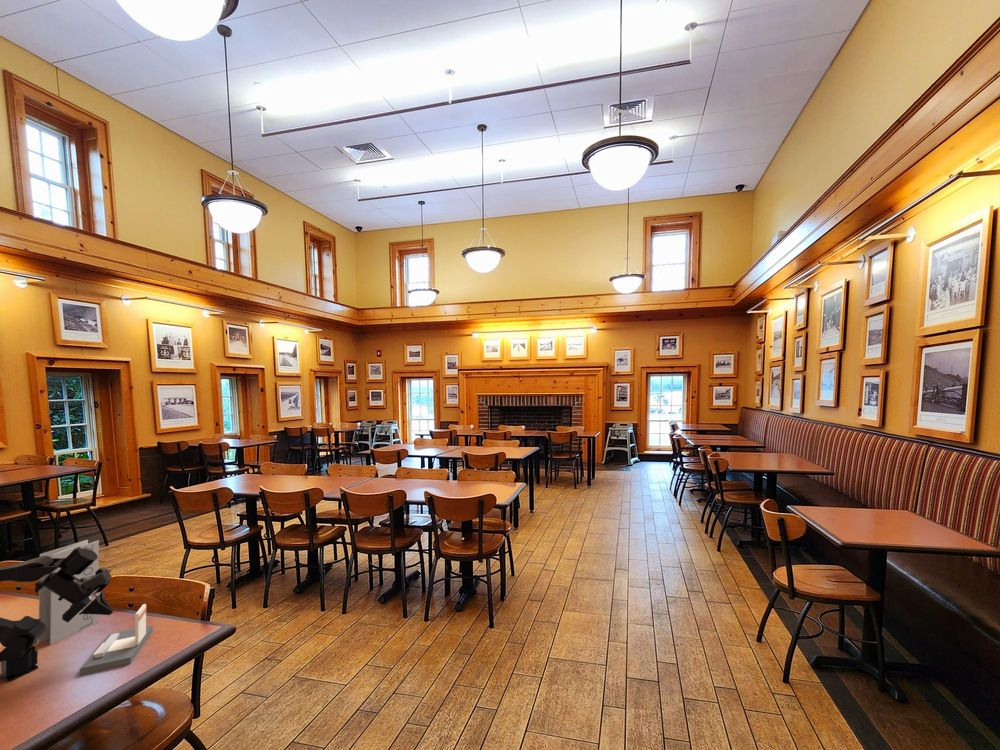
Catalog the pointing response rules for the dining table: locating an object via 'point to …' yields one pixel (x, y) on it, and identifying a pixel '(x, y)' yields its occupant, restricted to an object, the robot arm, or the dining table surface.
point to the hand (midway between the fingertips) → (111, 613)
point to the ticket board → (115, 651)
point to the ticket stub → (140, 624)
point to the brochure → (55, 608)
